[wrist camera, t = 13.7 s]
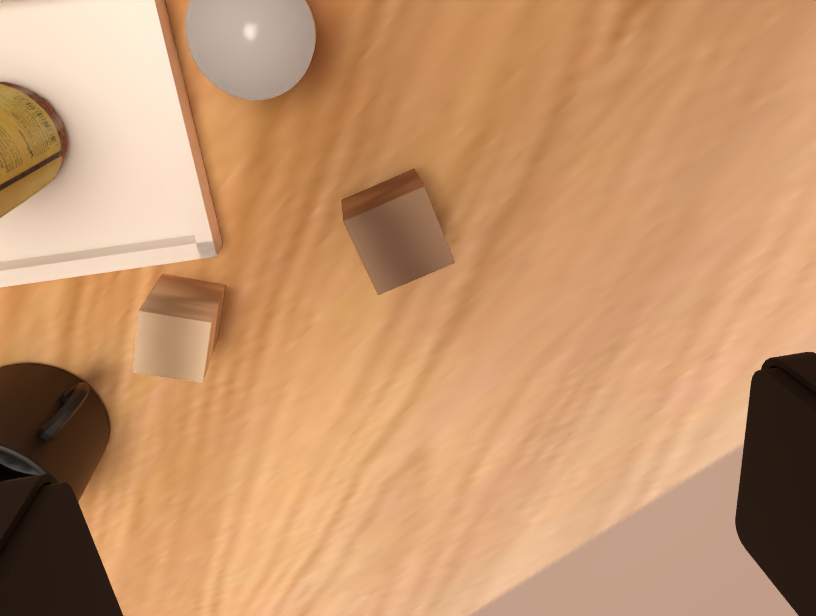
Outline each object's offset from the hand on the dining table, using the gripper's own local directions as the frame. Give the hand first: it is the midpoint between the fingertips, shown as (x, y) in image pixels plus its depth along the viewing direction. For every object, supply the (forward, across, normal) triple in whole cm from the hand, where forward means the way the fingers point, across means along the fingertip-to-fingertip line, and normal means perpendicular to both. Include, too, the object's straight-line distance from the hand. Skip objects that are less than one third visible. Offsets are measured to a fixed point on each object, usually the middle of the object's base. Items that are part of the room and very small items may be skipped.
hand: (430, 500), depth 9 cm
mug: (+34, +23, +16) cm, 44 cm away
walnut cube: (+34, -2, +6) cm, 35 cm away
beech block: (+34, +12, +10) cm, 38 cm away
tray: (+34, +19, -2) cm, 39 cm away
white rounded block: (+34, +4, -6) cm, 35 cm away
